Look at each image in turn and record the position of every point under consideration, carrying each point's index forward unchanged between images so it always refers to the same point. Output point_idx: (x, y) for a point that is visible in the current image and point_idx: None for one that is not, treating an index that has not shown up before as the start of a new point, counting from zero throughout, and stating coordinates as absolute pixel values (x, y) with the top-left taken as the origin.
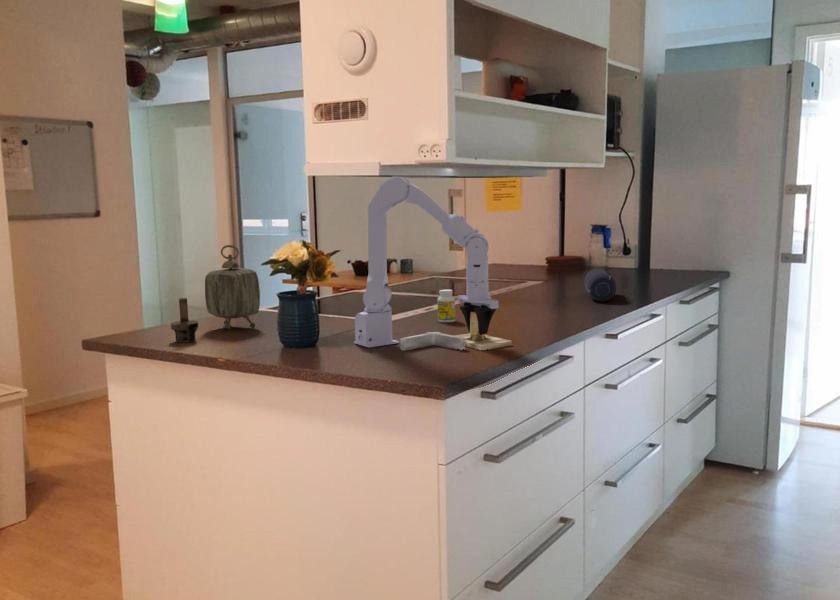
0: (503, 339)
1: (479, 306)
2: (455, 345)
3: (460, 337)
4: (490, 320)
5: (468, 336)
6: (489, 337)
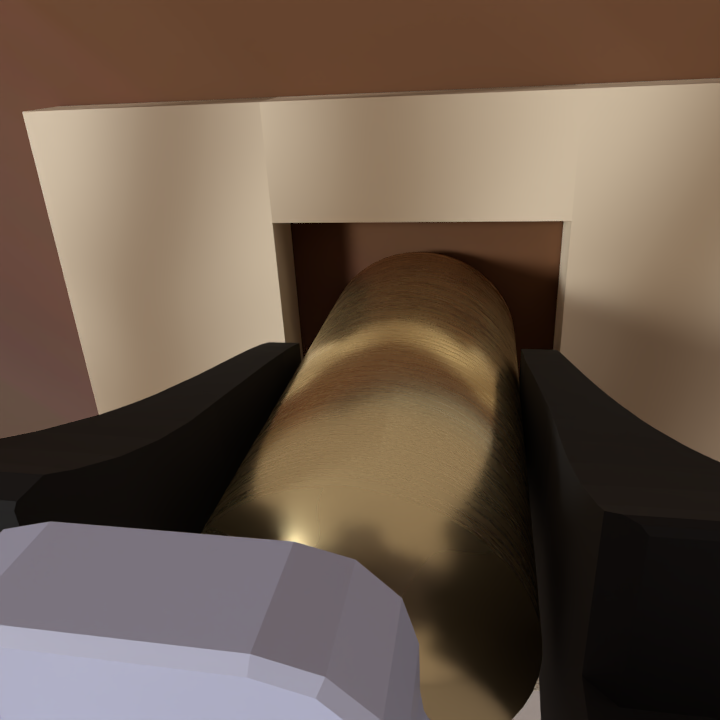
0: (713, 110)
1: (69, 499)
2: None
3: (539, 711)
4: (659, 436)
5: (221, 344)
6: (436, 179)
